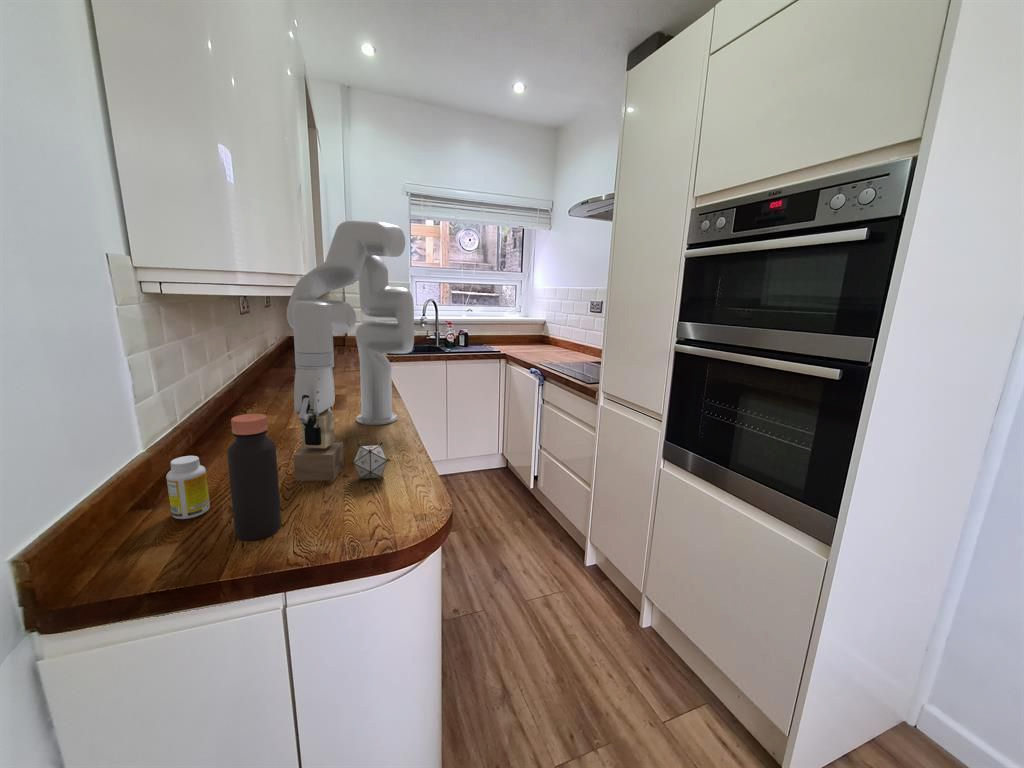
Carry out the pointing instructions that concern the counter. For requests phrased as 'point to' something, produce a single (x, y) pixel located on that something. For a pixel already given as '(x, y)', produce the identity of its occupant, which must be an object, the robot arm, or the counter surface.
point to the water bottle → (253, 478)
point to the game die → (370, 461)
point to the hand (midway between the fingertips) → (319, 439)
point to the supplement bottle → (187, 488)
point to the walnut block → (318, 462)
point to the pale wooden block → (322, 430)
